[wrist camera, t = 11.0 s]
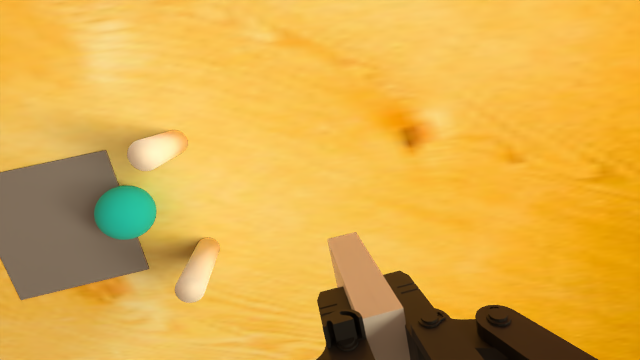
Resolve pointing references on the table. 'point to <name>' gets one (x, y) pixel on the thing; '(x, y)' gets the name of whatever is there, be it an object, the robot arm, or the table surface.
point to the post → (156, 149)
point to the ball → (125, 212)
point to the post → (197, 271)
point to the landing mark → (60, 227)
